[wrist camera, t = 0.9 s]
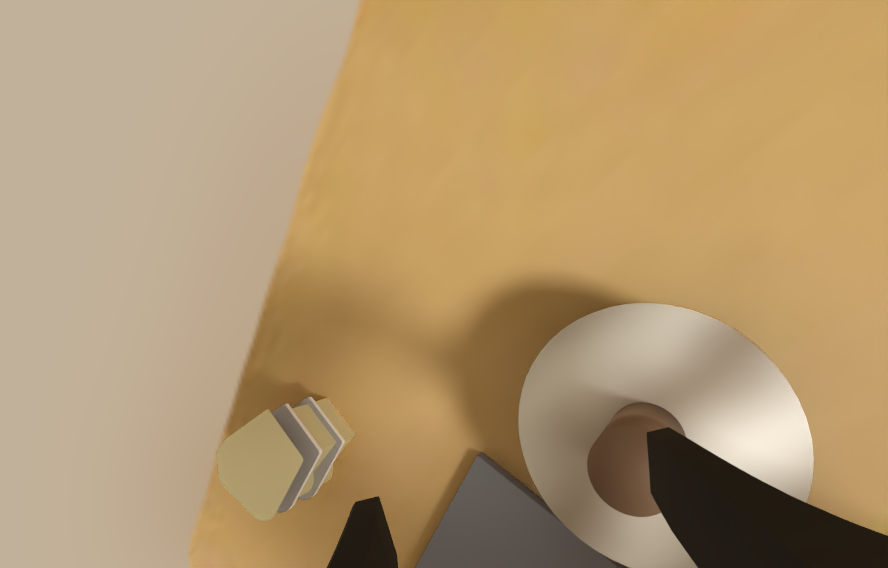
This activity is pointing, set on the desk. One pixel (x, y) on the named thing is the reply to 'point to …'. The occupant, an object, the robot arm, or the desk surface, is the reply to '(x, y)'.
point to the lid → (651, 421)
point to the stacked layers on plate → (282, 456)
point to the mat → (504, 528)
